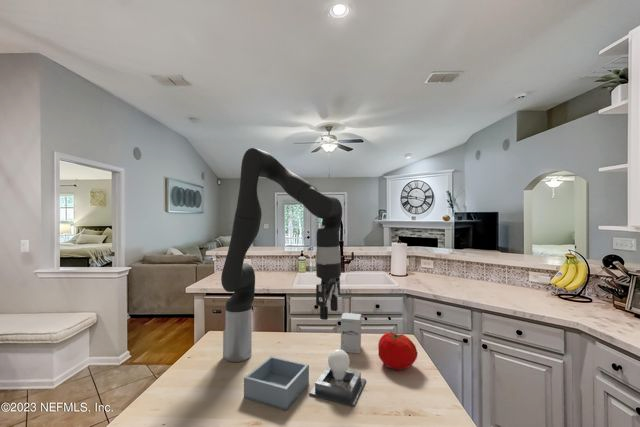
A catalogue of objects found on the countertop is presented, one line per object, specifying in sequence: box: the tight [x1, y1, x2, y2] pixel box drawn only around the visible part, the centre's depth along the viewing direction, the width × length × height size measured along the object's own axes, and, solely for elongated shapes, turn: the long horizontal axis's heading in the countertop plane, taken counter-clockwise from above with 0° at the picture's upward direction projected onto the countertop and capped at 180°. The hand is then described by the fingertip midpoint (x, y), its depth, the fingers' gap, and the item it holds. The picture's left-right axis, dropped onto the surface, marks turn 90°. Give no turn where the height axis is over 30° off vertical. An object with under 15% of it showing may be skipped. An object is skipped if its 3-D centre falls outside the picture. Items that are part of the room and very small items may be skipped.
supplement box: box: [340, 312, 362, 354], centre depth 108 cm, size 7×7×13 cm
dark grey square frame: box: [308, 365, 367, 408], centre depth 83 cm, size 13×13×3 cm
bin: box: [243, 356, 310, 411], centre depth 82 cm, size 14×14×6 cm
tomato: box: [377, 331, 418, 371], centre depth 96 cm, size 13×12×11 cm
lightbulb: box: [327, 348, 350, 387], centre depth 83 cm, size 6×6×11 cm
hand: (329, 314), depth 85 cm, fingers open, 8 cm apart
